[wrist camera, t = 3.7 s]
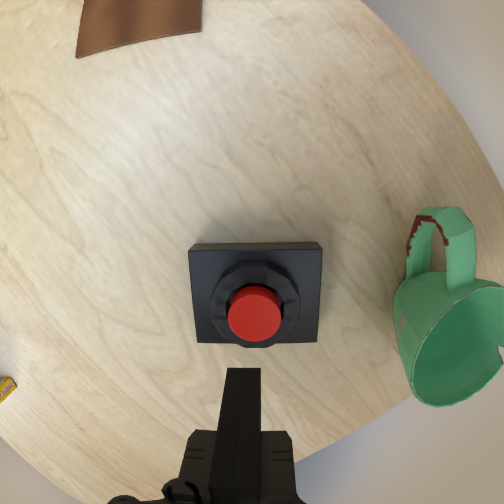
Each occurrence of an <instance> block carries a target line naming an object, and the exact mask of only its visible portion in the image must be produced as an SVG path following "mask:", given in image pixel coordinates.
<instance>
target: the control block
mask: <svg viewBox="0 0 504 504" xmlns="http://www.w3.org/2000/svg"><path fill="white" fill-rule="evenodd" d="M188 258H189V270H190V281H191V291H192V301H193V311H194V320H195V329H196V337H197V342H198V343H231V344H238V345H240V346H242V347H245V348H267V347H270V346H272V345H274V344H276V343H309V342H317V335H318V321H319V307H320V290H321V270H322V248H321V247H320V245H319V244H318V243H317V242H293V243H224V244H194V245H193V246H192V247H191V248H190V249H189V251H188ZM248 286H262V287H265V288H267V289H269V290H270V291H272V292H273V293H274V294H275V295H276V297H277V298H278V300H279V304H280V311H281V323H280V326H279V328H278V330H277V331H276V333H275V334H274V335H272V336H271V337H269V338H268V339H265V340H262V341H248V340H244V339H242V338H240V337H239V336H237V335H236V334H235V333H234V332H233V331H232V329H231V328H230V325H229V322H228V313H229V309H230V305H231V301H232V299H233V297H234V295H235V294H236V293H237V292H238V291H240V290H241V289H243V288H245V287H248Z"/></svg>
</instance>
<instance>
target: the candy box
mask: <svg viewBox="0 0 504 504" xmlns="http://www.w3.org/2000/svg"><path fill="white" fill-rule="evenodd" d="M16 388H17V386H16V385H15V383H14V382H13V380H12V379H11V378H6V379H0V403H1V402H2V401H3V400H4V399H5V398H6V397H7V396H8V395H9V394H10V393H11V392H12V391H13V390H15V389H16Z"/></svg>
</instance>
